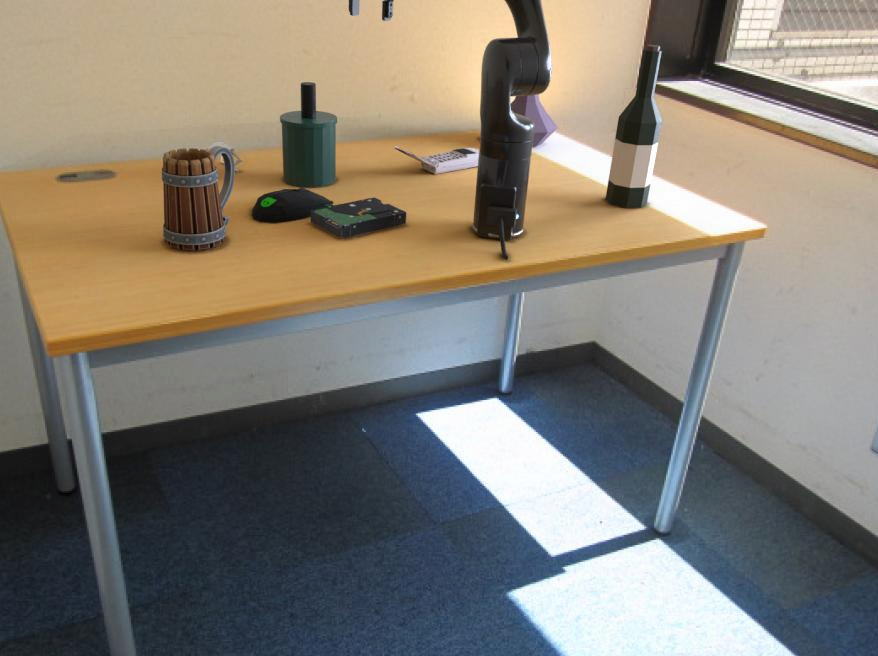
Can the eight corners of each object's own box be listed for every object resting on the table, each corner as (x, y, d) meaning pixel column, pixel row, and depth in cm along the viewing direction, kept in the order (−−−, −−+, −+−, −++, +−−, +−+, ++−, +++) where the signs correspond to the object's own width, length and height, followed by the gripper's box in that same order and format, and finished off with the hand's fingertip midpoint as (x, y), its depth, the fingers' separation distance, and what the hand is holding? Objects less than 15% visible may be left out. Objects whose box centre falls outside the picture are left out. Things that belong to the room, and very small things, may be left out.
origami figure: (246, 176, 187) (245, 152, 184) (206, 178, 184) (204, 154, 182) (236, 160, 196) (235, 138, 194) (198, 162, 194) (196, 139, 191)
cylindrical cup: (325, 189, 181) (325, 130, 174) (275, 183, 183) (273, 124, 177) (342, 175, 190) (342, 118, 183) (294, 170, 192) (293, 113, 186)
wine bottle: (647, 210, 177) (677, 50, 161) (605, 206, 178) (631, 47, 163) (645, 197, 184) (674, 43, 168) (605, 193, 185) (630, 40, 170)
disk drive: (373, 210, 171) (309, 223, 163) (373, 196, 169) (309, 208, 161) (407, 226, 164) (341, 240, 156) (407, 211, 163) (342, 225, 154)
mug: (197, 257, 147) (189, 167, 139) (150, 243, 151) (141, 155, 144) (257, 231, 158) (254, 147, 150) (213, 219, 163) (207, 137, 155)
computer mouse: (235, 212, 167) (233, 191, 165) (300, 194, 177) (300, 174, 175) (274, 227, 160) (273, 206, 158) (339, 208, 171) (340, 187, 169)
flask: (486, 148, 213) (494, 60, 203) (491, 132, 227) (499, 49, 217) (555, 153, 211) (566, 65, 201) (556, 137, 225) (566, 53, 215)
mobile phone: (392, 145, 189) (481, 131, 202) (391, 173, 192) (479, 157, 205) (408, 153, 185) (498, 138, 198) (407, 180, 188) (496, 164, 201)
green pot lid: (326, 133, 174) (326, 91, 170) (271, 128, 177) (269, 86, 173) (344, 121, 184) (344, 80, 180) (292, 115, 186) (291, 75, 182)
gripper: (332, -73, 176) (332, 15, 184) (389, -68, 169) (386, 23, 177) (356, -74, 181) (355, 12, 189) (412, -69, 174) (408, 20, 182)
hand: (370, 17), depth 183 cm, fingers open, 8 cm apart
